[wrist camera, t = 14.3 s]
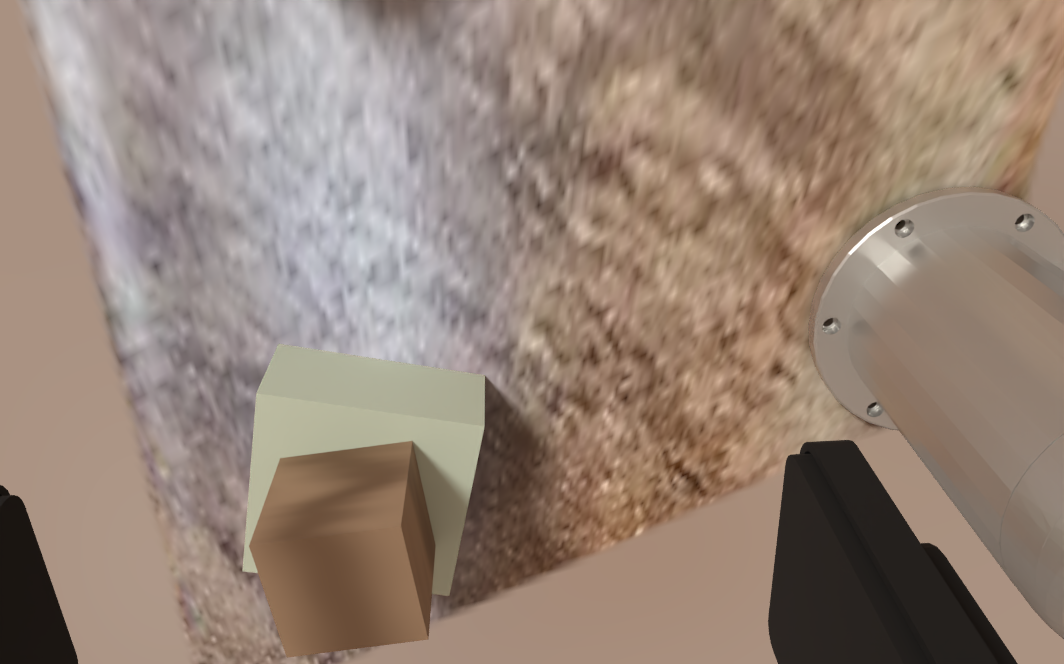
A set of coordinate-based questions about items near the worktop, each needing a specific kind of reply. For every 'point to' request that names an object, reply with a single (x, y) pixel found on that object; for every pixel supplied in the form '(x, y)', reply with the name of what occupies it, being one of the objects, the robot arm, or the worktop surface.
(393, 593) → the walnut block
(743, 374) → the worktop surface
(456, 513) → the sage block
